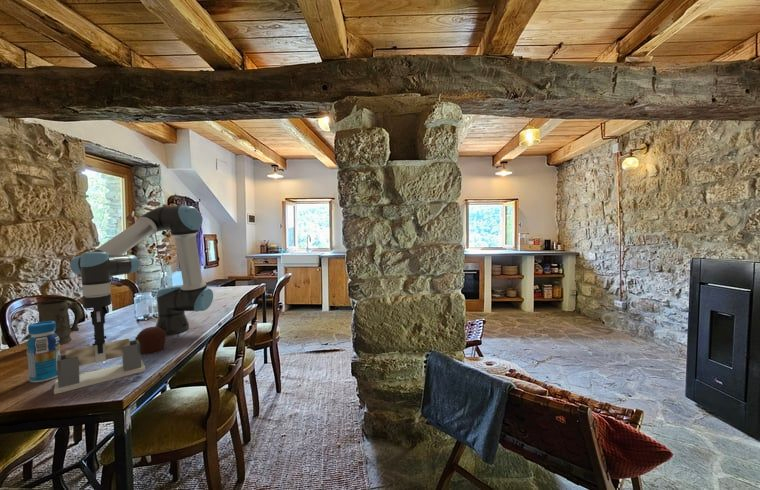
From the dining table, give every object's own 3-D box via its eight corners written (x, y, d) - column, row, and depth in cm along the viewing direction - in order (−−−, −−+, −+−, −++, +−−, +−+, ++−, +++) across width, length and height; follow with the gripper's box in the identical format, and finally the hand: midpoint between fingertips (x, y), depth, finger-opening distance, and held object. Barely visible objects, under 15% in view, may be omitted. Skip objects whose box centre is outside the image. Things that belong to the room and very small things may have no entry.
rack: (142, 362, 127) (140, 337, 126) (145, 370, 119) (143, 344, 119) (56, 383, 111) (54, 355, 110) (54, 394, 103) (51, 363, 103)
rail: (129, 351, 122) (128, 338, 121) (130, 354, 119) (129, 341, 118) (67, 364, 110) (66, 350, 110) (66, 368, 107) (65, 354, 107)
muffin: (132, 351, 139) (131, 328, 138) (161, 343, 148) (160, 322, 147) (141, 357, 132) (140, 334, 131) (171, 349, 141) (170, 327, 140)
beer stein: (48, 348, 144) (49, 304, 144) (30, 347, 146) (30, 303, 146) (86, 339, 159) (86, 298, 159) (69, 337, 161) (69, 298, 161)
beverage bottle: (21, 383, 111) (16, 327, 110) (46, 372, 119) (42, 320, 118) (45, 383, 111) (41, 326, 110) (69, 372, 119) (65, 319, 118)
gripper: (82, 293, 117) (86, 355, 118) (82, 300, 104) (86, 370, 106) (109, 290, 122) (112, 350, 123) (112, 297, 110) (115, 363, 111)
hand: (100, 359), depth 114 cm, fingers closed on rail, 4 cm apart
